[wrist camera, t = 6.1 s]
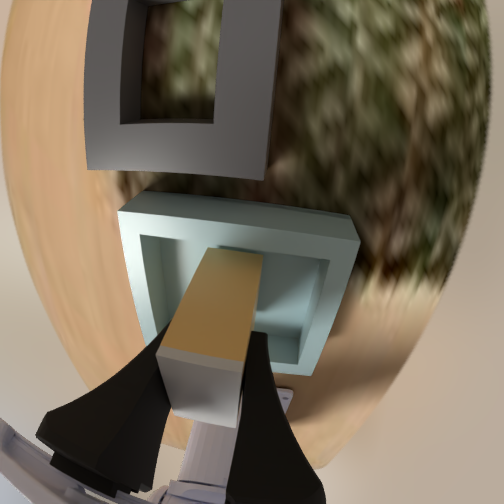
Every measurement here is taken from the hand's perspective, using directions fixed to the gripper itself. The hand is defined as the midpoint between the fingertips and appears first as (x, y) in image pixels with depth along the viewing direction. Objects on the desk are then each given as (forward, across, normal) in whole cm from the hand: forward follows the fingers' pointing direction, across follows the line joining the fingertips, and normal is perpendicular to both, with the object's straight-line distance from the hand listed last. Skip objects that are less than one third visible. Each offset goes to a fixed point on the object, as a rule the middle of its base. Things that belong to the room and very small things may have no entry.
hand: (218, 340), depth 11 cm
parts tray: (+4, 0, 0) cm, 4 cm away
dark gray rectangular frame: (+4, +3, -11) cm, 12 cm away
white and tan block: (+3, 0, 0) cm, 3 cm away
